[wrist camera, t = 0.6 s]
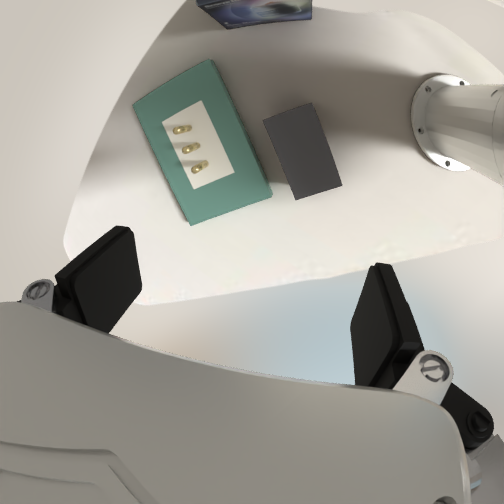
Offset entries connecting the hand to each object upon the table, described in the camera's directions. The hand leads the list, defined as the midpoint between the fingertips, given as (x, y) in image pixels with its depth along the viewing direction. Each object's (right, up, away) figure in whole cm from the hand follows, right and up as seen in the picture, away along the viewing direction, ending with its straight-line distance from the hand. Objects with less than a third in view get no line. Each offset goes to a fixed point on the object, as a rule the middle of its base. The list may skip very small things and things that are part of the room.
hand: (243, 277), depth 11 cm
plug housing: (+7, +14, +21) cm, 26 cm away
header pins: (-6, +14, +22) cm, 27 cm away
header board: (-6, +15, +23) cm, 28 cm away
